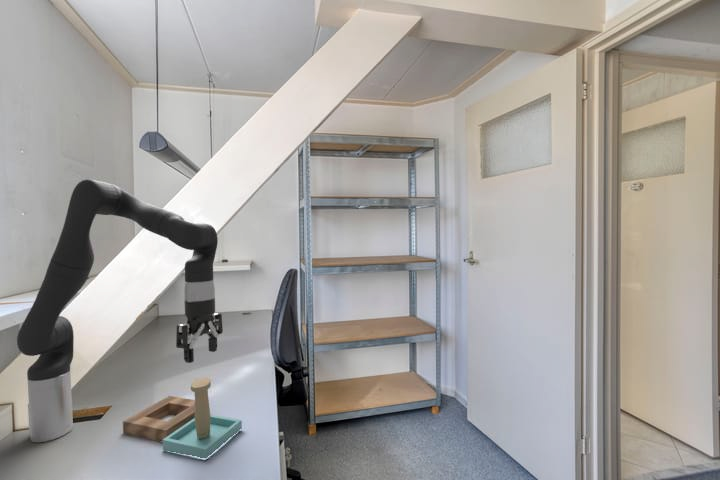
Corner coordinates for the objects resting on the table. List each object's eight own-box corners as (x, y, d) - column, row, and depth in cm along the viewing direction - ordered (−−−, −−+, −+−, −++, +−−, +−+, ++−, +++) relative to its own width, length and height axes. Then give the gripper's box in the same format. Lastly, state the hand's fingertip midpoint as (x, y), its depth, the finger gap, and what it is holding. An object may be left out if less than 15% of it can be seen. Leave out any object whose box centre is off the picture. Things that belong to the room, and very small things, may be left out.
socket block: (123, 433, 101) (122, 421, 101) (169, 406, 116) (169, 395, 116) (166, 443, 96) (166, 430, 96) (209, 413, 111) (208, 402, 111)
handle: (213, 428, 101) (210, 376, 100) (212, 440, 95) (209, 385, 94) (194, 432, 99) (191, 379, 98) (192, 445, 93) (189, 389, 92)
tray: (162, 450, 92) (162, 439, 92) (202, 422, 106) (202, 412, 106) (206, 461, 88) (205, 449, 88) (241, 430, 101) (241, 420, 101)
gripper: (207, 292, 103) (209, 346, 104) (167, 301, 90) (169, 364, 90) (229, 293, 101) (230, 349, 102) (190, 303, 88) (192, 368, 88)
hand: (201, 356), depth 96 cm, fingers open, 8 cm apart
